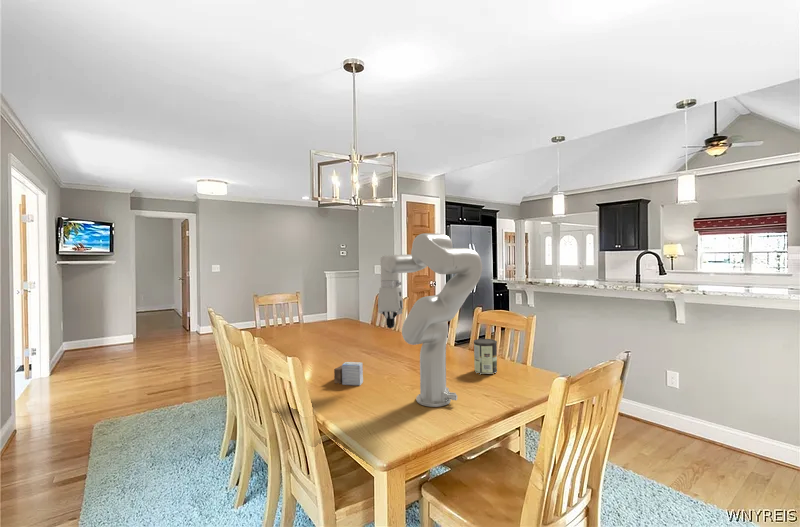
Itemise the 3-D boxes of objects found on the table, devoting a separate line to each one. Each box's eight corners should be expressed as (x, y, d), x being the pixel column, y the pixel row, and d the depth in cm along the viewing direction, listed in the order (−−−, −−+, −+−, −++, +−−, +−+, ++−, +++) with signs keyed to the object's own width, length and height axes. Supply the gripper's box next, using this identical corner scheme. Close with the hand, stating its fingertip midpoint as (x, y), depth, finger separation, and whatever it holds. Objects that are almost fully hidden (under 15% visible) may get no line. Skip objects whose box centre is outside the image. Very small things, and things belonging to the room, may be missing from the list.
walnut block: (355, 375, 176) (355, 362, 176) (340, 383, 165) (340, 369, 165) (349, 374, 177) (349, 361, 177) (334, 383, 166) (334, 369, 166)
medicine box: (363, 382, 166) (362, 362, 166) (360, 386, 162) (359, 365, 162) (345, 381, 168) (345, 361, 168) (342, 385, 164) (341, 364, 163)
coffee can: (488, 367, 185) (488, 337, 185) (501, 373, 176) (501, 342, 175) (469, 370, 181) (469, 339, 181) (482, 376, 172) (481, 344, 171)
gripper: (409, 284, 166) (410, 327, 167) (378, 283, 173) (379, 324, 173) (402, 285, 160) (402, 330, 160) (369, 284, 166) (370, 328, 166)
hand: (390, 327), depth 167 cm, fingers closed
